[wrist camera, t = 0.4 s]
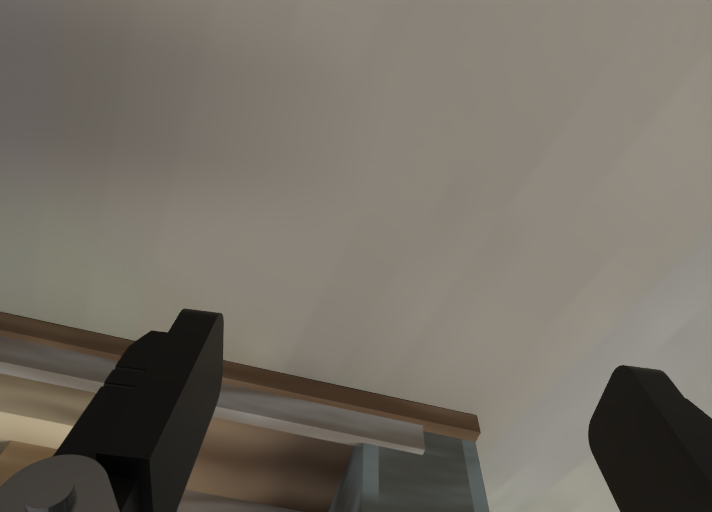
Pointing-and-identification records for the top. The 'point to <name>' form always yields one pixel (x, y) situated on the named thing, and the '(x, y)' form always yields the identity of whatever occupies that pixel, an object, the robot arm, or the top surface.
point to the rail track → (285, 434)
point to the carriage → (35, 420)
